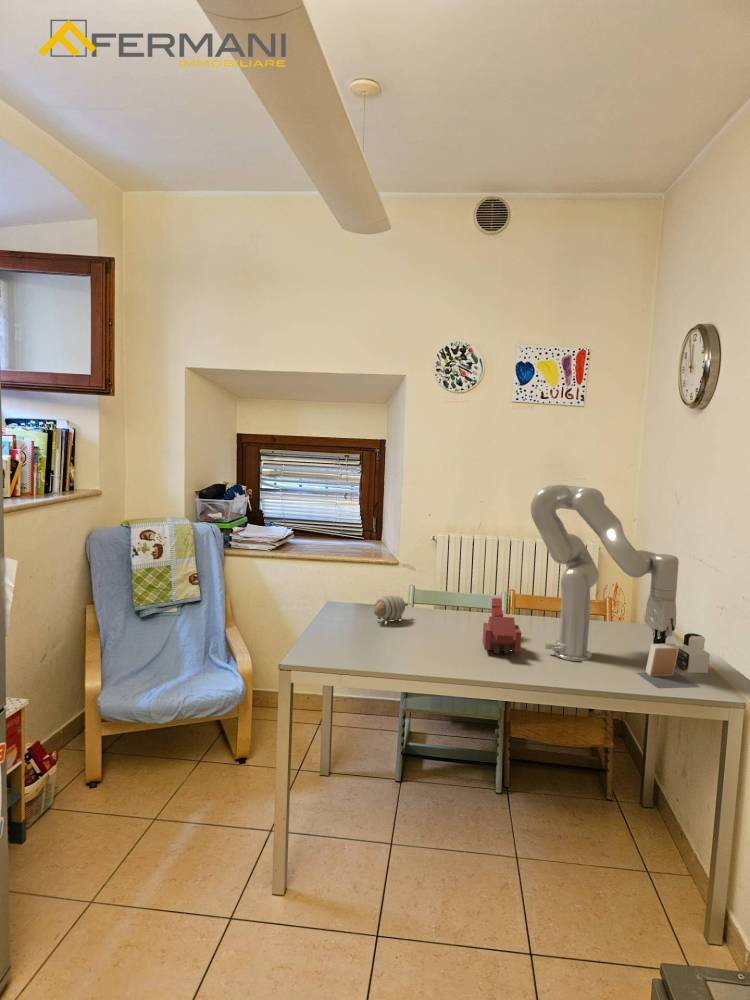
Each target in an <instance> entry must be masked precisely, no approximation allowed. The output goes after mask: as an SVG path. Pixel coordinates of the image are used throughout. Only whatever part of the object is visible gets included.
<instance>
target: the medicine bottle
mask: <svg viewBox="0 0 750 1000" xmlns="http://www.w3.org/2000/svg"><path fill="white" fill-rule="evenodd" d="M705 640H706V638H705V637H704V636H703V635H701V634H698V633H693V632H692V633H691V632H690V633H689V632H688V633H686V634H684V636H683V643H682V644H683V645H677V646H678V647H679V651H678V655H677V659H676V664H675V666H677V667H678V668H679V669H681V670H683V671H684V672H685V673H687V674H709V667H710V666H709V665H710V656H711V655H710V652H708V651H706V650H705Z"/></svg>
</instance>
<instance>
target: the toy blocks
mask: <svg viewBox="0 0 750 1000" xmlns="http://www.w3.org/2000/svg"><path fill="white" fill-rule="evenodd" d="M502 606H503V600H502V597H501V598H500V597H491V615H489V617H488V621H487V622H483V625H482V640H481V641H482V645H483V649H484V650H485V651H491V650H490V649H494V650H493V654H494V653H499V654H500V651H501V650H504V651H503V654H504V655H510V653H511V652H513V650H514V652H515V653H516V652H517V653H519V652H520V653H521V646H522V645H521V644H522V631H521V629H520V627H519V625H518V624H516V622H515V621H516V620H515V617H511V616H509V617H508V616H504V612H503V607H502ZM510 650H512V651H510Z"/></svg>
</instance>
